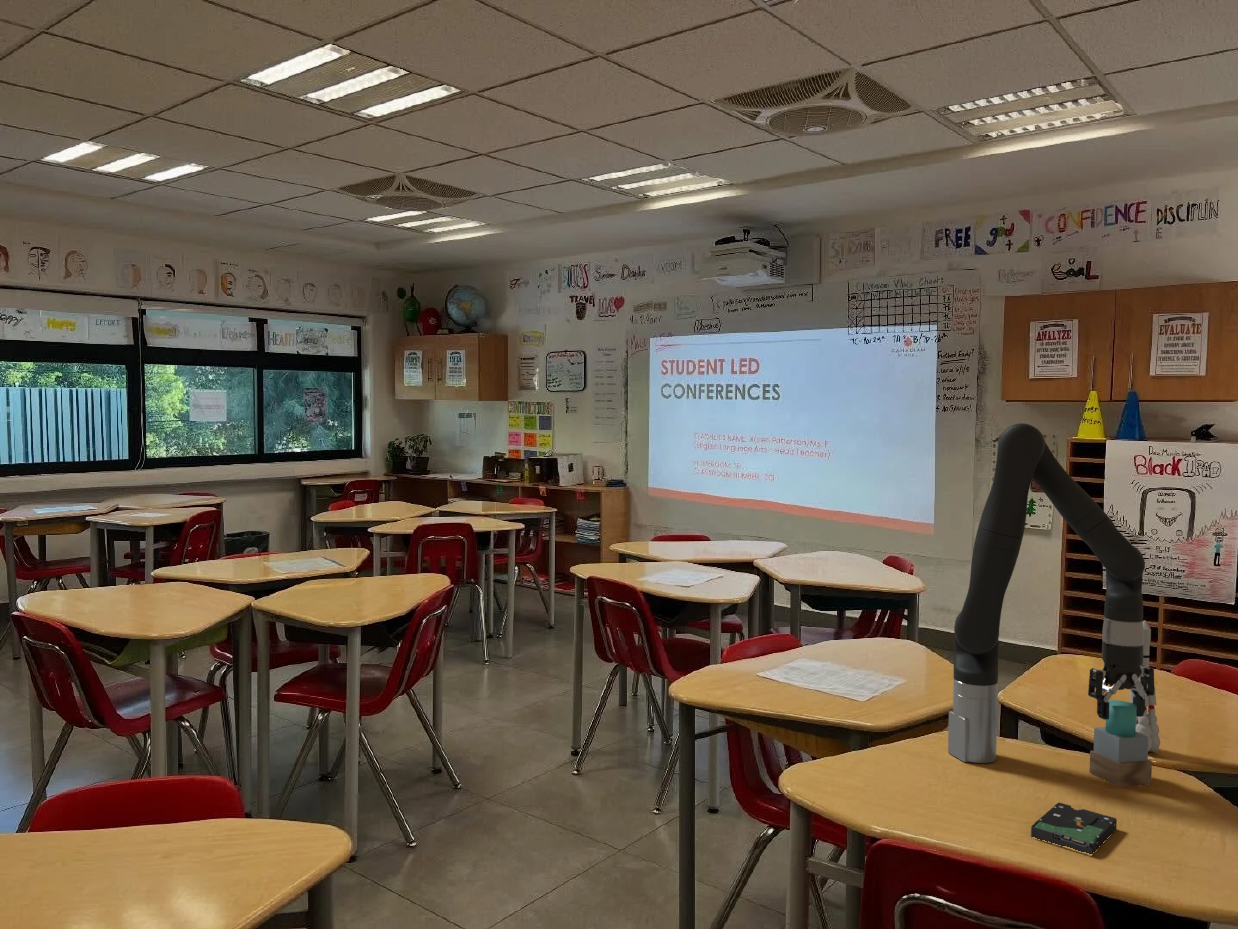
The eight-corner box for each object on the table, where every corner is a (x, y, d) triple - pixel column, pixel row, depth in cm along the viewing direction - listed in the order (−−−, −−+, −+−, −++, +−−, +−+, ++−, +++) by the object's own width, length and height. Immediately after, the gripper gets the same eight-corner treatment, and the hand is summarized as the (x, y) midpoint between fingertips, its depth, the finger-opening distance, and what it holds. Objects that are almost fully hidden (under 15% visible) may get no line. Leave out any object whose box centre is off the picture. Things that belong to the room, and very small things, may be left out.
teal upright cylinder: (1119, 738, 183) (1120, 709, 183) (1099, 729, 188) (1100, 701, 188) (1141, 736, 184) (1142, 707, 184) (1121, 727, 190) (1122, 699, 189)
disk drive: (1056, 816, 170) (1029, 840, 159) (1057, 801, 170) (1030, 825, 159) (1117, 833, 163) (1093, 860, 152) (1117, 817, 163) (1093, 843, 152)
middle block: (1118, 763, 183) (1119, 739, 182) (1093, 751, 189) (1094, 727, 189) (1147, 760, 184) (1148, 736, 184) (1122, 748, 191) (1122, 725, 191)
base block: (1118, 788, 182) (1119, 764, 182) (1089, 774, 190) (1090, 751, 190) (1151, 785, 184) (1151, 761, 184) (1121, 771, 192) (1121, 748, 191)
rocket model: (1157, 747, 205) (1161, 618, 204) (1162, 758, 199) (1166, 625, 197) (1121, 743, 208) (1124, 616, 207) (1124, 753, 202) (1128, 622, 200)
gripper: (1137, 634, 191) (1135, 709, 191) (1080, 638, 188) (1078, 714, 188) (1166, 643, 184) (1163, 720, 184) (1107, 646, 180) (1105, 725, 181)
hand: (1120, 717), depth 186 cm, fingers open, 8 cm apart
